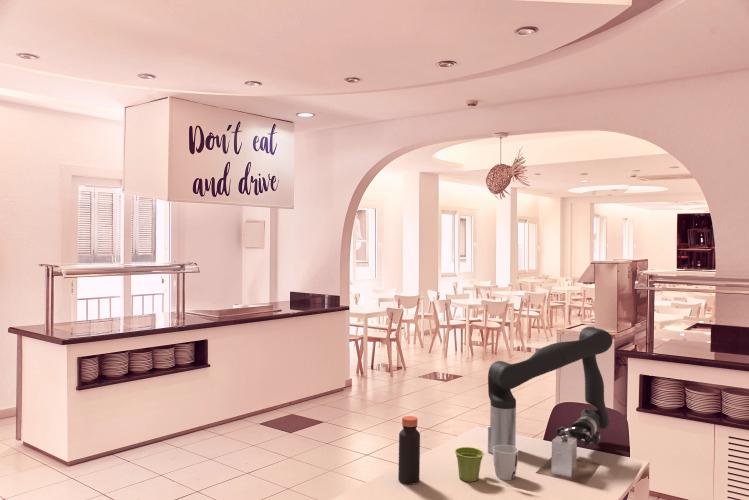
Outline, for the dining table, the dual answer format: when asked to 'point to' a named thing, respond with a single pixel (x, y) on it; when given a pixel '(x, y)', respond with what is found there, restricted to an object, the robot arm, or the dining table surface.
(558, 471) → the steel cover
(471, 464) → the plant pot
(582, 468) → the walnut board
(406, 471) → the bottle
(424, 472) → the dining table surface
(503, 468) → the cup
